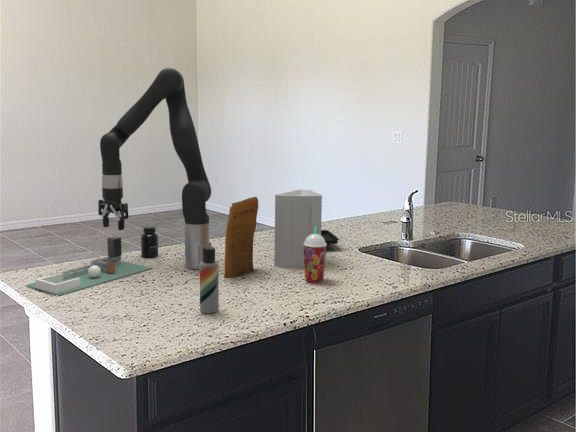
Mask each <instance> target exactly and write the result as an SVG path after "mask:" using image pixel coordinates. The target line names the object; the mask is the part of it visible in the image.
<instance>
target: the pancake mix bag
mask: <svg viewBox="0 0 576 432" xmlns="http://www.w3.org/2000/svg"><path fill="white" fill-rule="evenodd" d="M258 211H259V199H258V197H257V196H253V197H252V196H251V197H248V198H246V199H243V200H240V201H237V202H232V203H231V206H229V212H228V215H227V216H228V217H227V222H226V228H225V238H224V239H225V240H224V274H223V277H224V278H236V276H237V277H239V276H241V275H244V274H247V273H250V272H253V271H254V237H255V236H254V235H255V232H256V229H257V216H258V213H259V212H258Z"/></svg>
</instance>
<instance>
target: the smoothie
mask: <svg viewBox="0 0 576 432" xmlns="http://www.w3.org/2000/svg"><path fill="white" fill-rule="evenodd" d="M326 245H327V243H326V242H325V240H324V238H323V237H322V236H321V235H319V234H316V226H314V234H311V235H309V236H308V237H307V238H306V239H305V241H304V243H303V247H304V269H303V270H304V271H303V272H304V278H305V281H306V282H307V283H310V284H319V283H322V282H323V279H324V275H325V266H326V254H327V246H326Z"/></svg>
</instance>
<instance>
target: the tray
mask: <svg viewBox="0 0 576 432" xmlns="http://www.w3.org/2000/svg"><path fill="white" fill-rule="evenodd" d="M321 236H322V237H323V238H324V240H325V242H326V243H327V245H326V247H327V246H330V245H331V244H333V245H335V244H338V242H339V241H340V239H339V238H338V237H337V236H336V235H335V234H333V233H332V232H331V231H330V230H327V229H321Z"/></svg>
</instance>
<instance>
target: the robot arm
mask: <svg viewBox="0 0 576 432" xmlns="http://www.w3.org/2000/svg"><path fill="white" fill-rule="evenodd" d="M184 81H185V80H184V76H183V75H182V73H181V72H180V71H178V70H177V69H175V68H173V67H172V68H171V67H166V68H163V69H161V70H160V72H158V73H157V76H156V77H155V78H154V79H153V81H152V83H151V84H150V85H149V87H148V88H147V90H146V91H145V92H144V93H143V95H142V96H140V98H139V99H138V100H137V101H136V102H134V104H133V105H132V106H131V107H130V108H129V109H128V110H127V111H126V112H125V113H124V114H123V115H122V116H121V118H120V119H119V120H118V121H117V123H116V124H115V125H114V126H113V127H112V128H111V129H110V130H109V131H108V132H107V133H105V134H103V135H102V136H101V138H100V141H99V148H100V155H101V156H100V157H101V162H102V163H101V171H102V172H101V173H102V177H101V194H102V196H101V197H102V199H99V200H98V206H97V208H98V209H97V210H98V213H97V214H98V215H99V216H101V218H102V226H103V228H108V227H109V226H110V217H109V216H110V214H111V213H112V214H114V216H115V217H116V218H117V226H118V227H117V228H118V229H117V230H119V231H123V230H124V229H125V220H128V219H129V206H128V202H125V203H123V201H122V199H123V198H124V187H123V185H124V183H123V182H124V181H123V180H124V179H123V174H122V173H123V170H122V165H123V164H122V160H121V159H120V158H121V157H120V148H122V146H123V145H124V144H125V143H126V142H127V141H128V139H129V138H130V137H131V136H132V135H133V134H134V133H135V132H137V130H138V129H139V128H141V126H142V125H143V124H144V123H145V122H146V121H147V119H148V118H149V117H150V115H151V114H152V113H153V111H154V110H155V108H156V107H158V105H160V103H161V102H163V100H164V99H165V102H166V105H167V108H168V120H169V121H168V122H169V133H170V136H171V140H172V145H173V148H174V150H175V152H176V156H178V157H177V158H179V160H180V162H181V163H182V165H183V167H184V169H185V173H186V177H187V183H186V184H185V185H184V186H183V187H182V191H181V204H182V205H181V207H182V208H181V209H182V216H183V218H184V257H185V258H184V259H185V260H184V261H185V262H184V264H185V265H184V266H185V268H186V269H188V270H200V262H202V261H203V248H204V247H205V246H207V247H212V242H211V241H210V216H209V214H208V213H207V205H206V203H207V202H209V200H210V198H211V196H212V187H211V184H210V182H209V178H208V176H207V172H206V170H205V167H204V163H203V159H202V158H203V157H202V154H201V150H200V146H199V140H198V136H197V132H196V128H195V124H194V121H193V118H192V115H191V112H190V110H189V109H190V108H189V106H188V102H187V96H186V89H185V82H184Z"/></svg>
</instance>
